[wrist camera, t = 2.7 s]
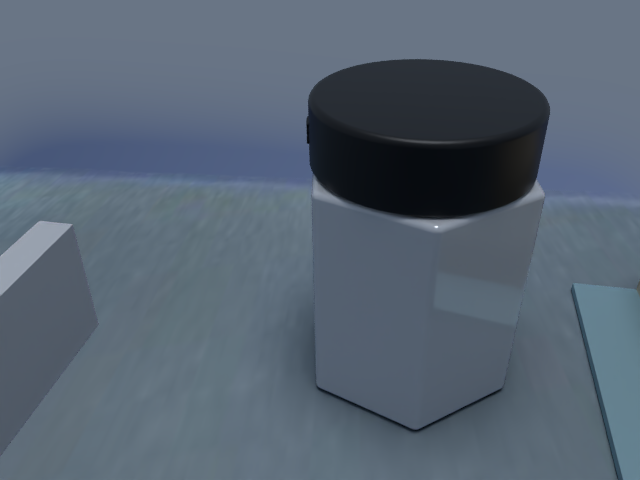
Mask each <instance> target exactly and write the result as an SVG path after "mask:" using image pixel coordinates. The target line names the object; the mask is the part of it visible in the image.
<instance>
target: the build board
mask: <svg viewBox="0 0 640 480" xmlns="http://www.w3.org/2000/svg"><path fill="white" fill-rule="evenodd" d="M571 290H572V294H573V298H574V302H575V306H576V310H577V314H578V318H579V322H580V326H581V330H582V334H583V338H584V343H585V347H586V351H587V355H588V359H589V363H590V367H591V371H592V375H593V379H594V383H595V387H596V391H597V395H598V399H599V403H600V407H601V411H602V415H603V419H604V423H605V427H606V431H607V435H608V439H609V444H610V448H611V452H612V456H613V460H614V464H615V468H616V472H617V476H618V480H640V297H639V294H638V292H637V289H629V288H619V287H609V286H599V285H589V284H579V283H573V285H572V288H571Z"/></svg>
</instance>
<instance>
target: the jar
mask: <svg viewBox="0 0 640 480" xmlns="http://www.w3.org/2000/svg"><path fill="white" fill-rule="evenodd" d="M308 112H309V113H308V115H309V116H308V117H307V143H308V144H309V155H310V166H311V169H312V171H313V179H312V195H311V199H312V242H313V284H314V327H315V370H316V384H317V386H318V387H319V388H321V389H323V390H325V391H328V392H330V393H332V394H334V395H337V396H339V397H341V398H343V399H346V400H348V401H350V402H352V403H355V404H357V405H359V406H361V407H364V408H366V409H368V410H370V411H373V412H375V413H377V414H380V415H382V416H384V417H386V418H389V419H391V420H393V421H395V422H397V423H400V424H402V425H404V426H406V427H409V428H411V429H414V430H417V429H420V428H422V427H424V426H426V425H428V424H430V423H432V422H434V421H436V420H438V419H440V418H442V417H444V416H446V415H448V414H450V413H452V412H454V411H456V410H458V409H460V408H462V407H464V406H466V405H469V404H471V403H473V402H475V401H477V400H479V399H481V398H483V397H485V396H487V395H489V394H491V393H493V392H495V391H497V390H499V389H501V388H502V387H503V386H504V383H505V378H506V373H507V369H508V364H509V360H510V355H511V350H512V346H513V341H514V337H515V332H516V328H517V323H518V318H519V314H520V309H521V305H522V300H523V295H524V291H525V286H526V282H527V277H528V273H529V268H530V263H531V259H532V254H533V250H534V245H535V240H536V236H537V231H538V227H539V222H540V218H541V213H542V209H543V204H544V199H545V193H544V191H543V189H542V188H541V186H540V184H539V183H538V181H537V179H536V178H537V174H538V169H539V164H540V159H541V154H542V149H543V144H544V139H545V135H546V130H547V125H548V120H549V115H550V106H549V103H548V101H547V99H546V97H545V96H544V94H543V93H542V92H541V91H540V90H539V89H537V88H536V87H534V86H533V85H531V84H530V83H528V82H526V81H525V80H523V79H521V78H519V77H516V76H514V75H512V74H509V73H506V72H503V71H500V70H496V69H492V68H489V67H484V66H480V65H474V64H468V63H462V62H454V61H444V60H426V59H409V60H408V59H407V60H389V61H380V62H372V63H367V64H362V65H357V66H353V67H350V68H346V69H343V70H340V71H338V72H335V73H333V74H331V75H329V76H327V77H326V78H324V79H322V80H321V81H320V82H318V83H317V84H316V85H315V86H314V88H313V89H312V91H311V92H310V95H309V100H308Z"/></svg>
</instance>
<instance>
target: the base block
mask: <svg viewBox="0 0 640 480" xmlns="http://www.w3.org/2000/svg"><path fill="white" fill-rule="evenodd" d="M637 292H638V294H639V297H640V281H639V283H638V286H637Z"/></svg>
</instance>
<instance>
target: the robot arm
mask: <svg viewBox="0 0 640 480" xmlns="http://www.w3.org/2000/svg"><path fill="white" fill-rule="evenodd" d="M98 325H99V323H98V319H97V316H96V312H95V308H94V304H93V300H92V296H91V293H90V289H89V285H88V281H87V277H86V273H85V269H84V266H83V262H82V258H81V254H80V250H79V246H78V243H77V239H76V235H75V231H74V227H73V224H64V223H55V222H46V221H39V222H38V223H37V224H35V225H34V226H33V227H32V228H31V229H30V230H29V231H28V232H27V233H25V234H24V235H23V236H22V237H21V238H20V239H19V240H18V241H17V242H16V243H14V244H13V245H12V246H11V247H10V248H9V249H8V250H7V251H6V252H4V253H3V254H2V255H1V256H0V456H1V455H2V453H3V452H4V451H5V449H6V448H7V447H8V445H9V444H10V443H11V441H12V440H13V439H14V437H15V436H16V435H17V433H18V432H19V431H20V429H21V428H22V427H23V425H24V424H25V423H26V421H27V420H28V419H29V417H30V416H31V415H32V413H33V412H34V411H35V409H36V408H37V407H38V405H39V404H40V403H41V401H42V400H43V399H44V397H45V396H46V395H47V393H48V392H49V391H50V389H51V388H52V387H53V385H54V384H55V383H56V381H57V380H58V379H59V377H60V376H61V374H62V373H63V372H64V370H65V369H66V368H67V366H68V365H69V364H70V362H71V361H72V360H73V358H74V357H75V356H76V354H77V353H78V352H79V350H80V349H81V348H82V346H83V345H84V344H85V342H86V341H87V340H88V338H89V337H90V336H91V334H92V333H93V332H94V330H95V329H96V328H97V326H98Z"/></svg>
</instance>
